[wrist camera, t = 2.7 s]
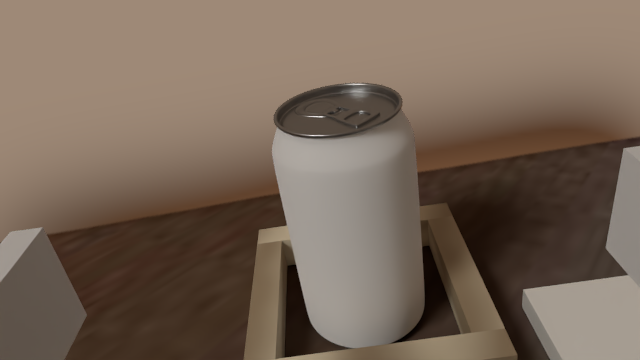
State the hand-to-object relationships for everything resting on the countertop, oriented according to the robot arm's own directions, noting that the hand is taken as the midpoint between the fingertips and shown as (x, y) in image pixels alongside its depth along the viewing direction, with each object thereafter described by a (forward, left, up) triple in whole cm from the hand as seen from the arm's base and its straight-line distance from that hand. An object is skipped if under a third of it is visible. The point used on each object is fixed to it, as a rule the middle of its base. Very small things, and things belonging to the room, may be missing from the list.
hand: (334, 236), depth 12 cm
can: (-1, -11, -13) cm, 17 cm away
